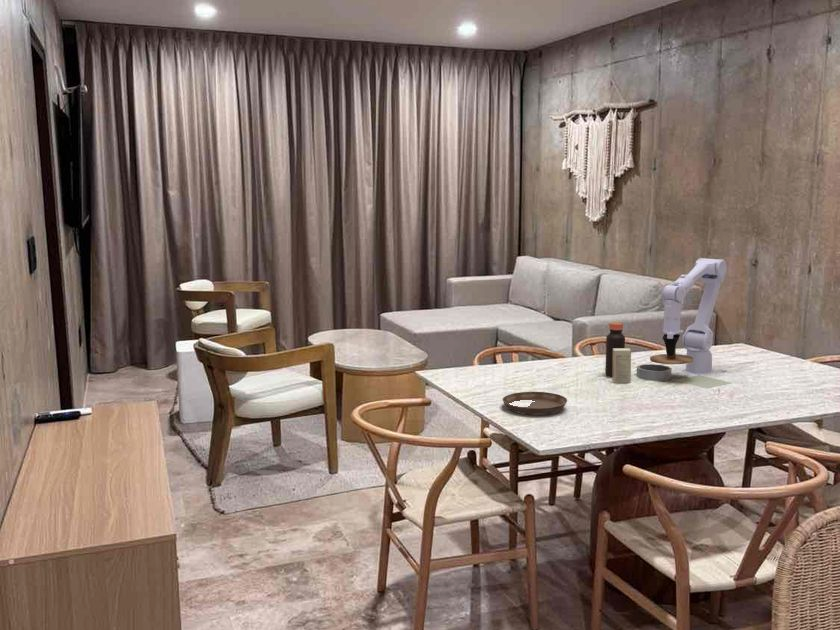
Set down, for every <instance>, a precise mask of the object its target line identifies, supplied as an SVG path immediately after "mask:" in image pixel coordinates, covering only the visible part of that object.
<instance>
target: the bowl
mask: <svg viewBox="0 0 840 630" xmlns="http://www.w3.org/2000/svg"><path fill="white" fill-rule="evenodd" d="M672 371H673V370H672V367H670V366H667V365H665V364H658V363H651V364H650V363H645V364H639V365H637V366H636V376H635V377H637V378H639V379H640V380H644V381H653V382H659V381H660V382H663V381H669V380H671V379H672Z"/></svg>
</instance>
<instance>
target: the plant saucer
mask: <svg viewBox="0 0 840 630" xmlns="http://www.w3.org/2000/svg"><path fill="white" fill-rule="evenodd" d="M520 400H532V401H535V402H532V403H531V404H530V406H528V407H518V406H513V405H510V404H509V403H512V402H514V401H520ZM502 402H503V404H504V405H505V406H506V408H508V409H509V410H510V411H512V410H513V411H515V412H514V413H516V412H519V413H518V414H520V413H524V414H523V415H526V414H533V415H532V416H544V415H543V414H547V415H552V414H555V412H556V413H558V412H560V411H561V410H562V409H563V408H564V407H565V406H566V405H567V403H568V398H567V397H565V396H563V395H560V394H557V393H554V392H553V393H552V392H545V391H520V392H514V393H510V394H508V395H505V396H504V397H502ZM513 411H512V412H513Z"/></svg>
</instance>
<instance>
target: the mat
mask: <svg viewBox="0 0 840 630" xmlns="http://www.w3.org/2000/svg"><path fill="white" fill-rule="evenodd" d="M674 381H675V382H680V383H684V384H688V385H690V386H691V385H692V386H695V387H700V388H704V389H711V388H715V387H716V388H717V387H721V386H725V385H729V384H732V382H731V381H726V380H722V379H717V378H713V377H710V376H709V377H708V376H705V375H702V374H700V375H695V376H690V377H685V378H680V379H675V380H674Z"/></svg>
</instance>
